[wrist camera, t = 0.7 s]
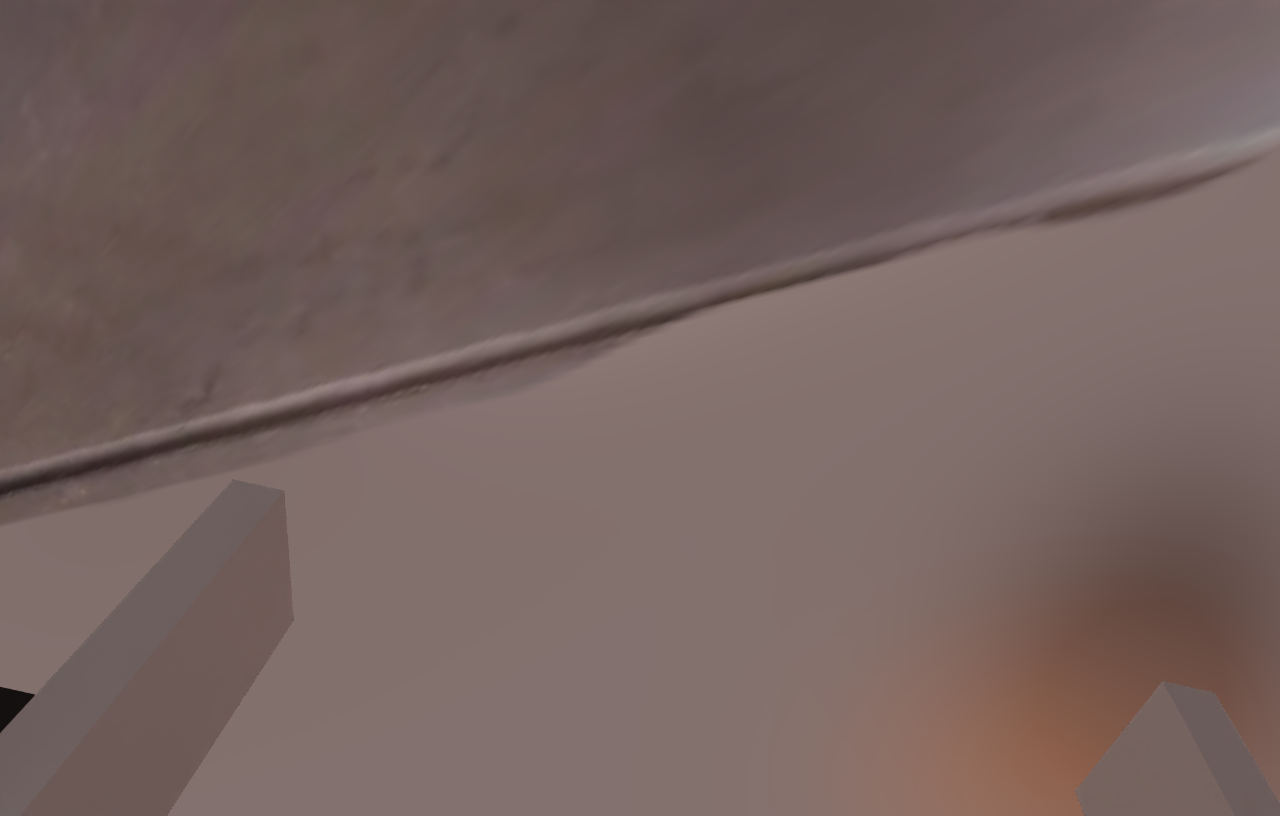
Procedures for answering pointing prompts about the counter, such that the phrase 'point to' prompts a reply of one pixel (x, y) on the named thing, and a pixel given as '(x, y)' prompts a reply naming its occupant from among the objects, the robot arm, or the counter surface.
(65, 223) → the counter surface
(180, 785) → the robot arm
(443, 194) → the counter surface
